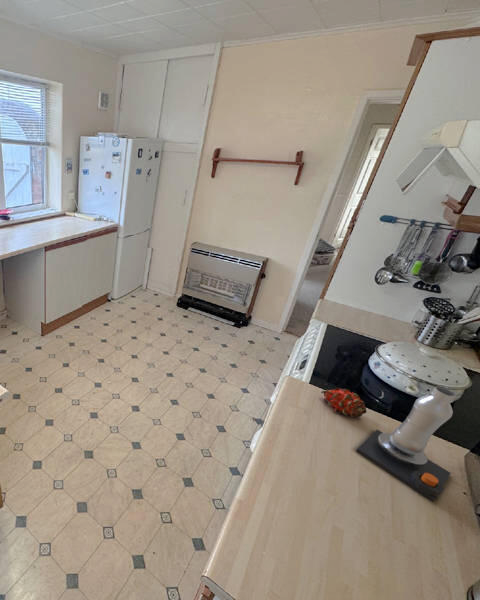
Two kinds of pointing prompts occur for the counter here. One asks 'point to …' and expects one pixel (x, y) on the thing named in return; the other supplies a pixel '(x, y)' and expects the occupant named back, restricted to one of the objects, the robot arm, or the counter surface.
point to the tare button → (429, 479)
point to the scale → (404, 468)
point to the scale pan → (401, 452)
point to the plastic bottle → (423, 421)
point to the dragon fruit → (345, 402)
